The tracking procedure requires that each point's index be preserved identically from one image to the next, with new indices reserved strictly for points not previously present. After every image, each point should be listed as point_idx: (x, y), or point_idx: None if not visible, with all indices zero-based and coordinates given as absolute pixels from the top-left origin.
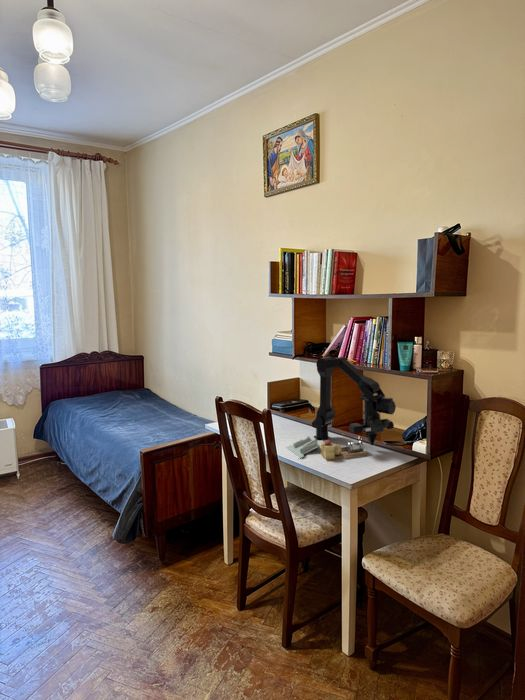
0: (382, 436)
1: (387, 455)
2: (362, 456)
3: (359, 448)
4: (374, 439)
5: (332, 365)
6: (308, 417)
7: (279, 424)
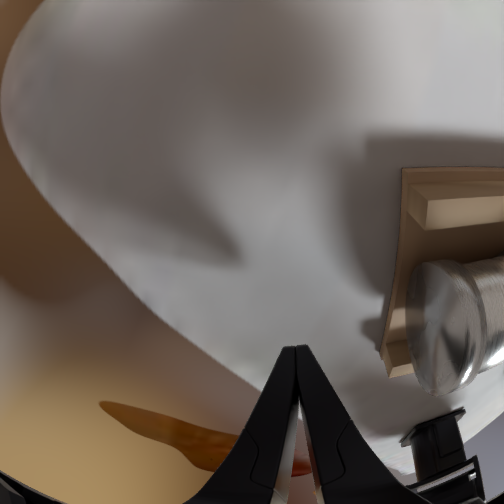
0: (163, 425)
1: (151, 158)
2: (457, 171)
3: (483, 274)
4: (263, 409)
5: None
6: None
7: None
